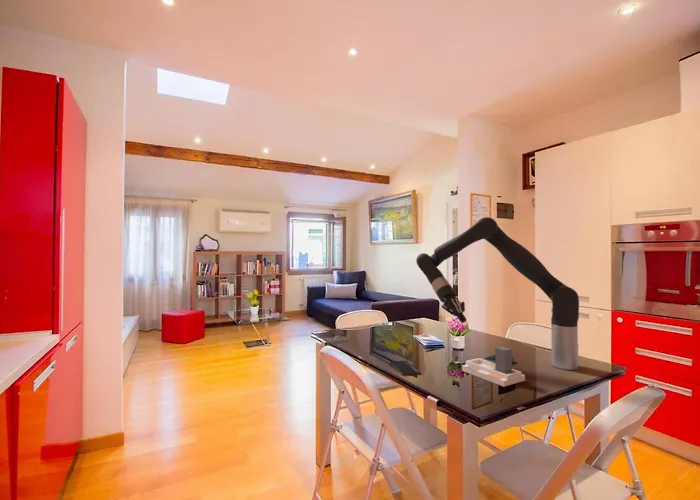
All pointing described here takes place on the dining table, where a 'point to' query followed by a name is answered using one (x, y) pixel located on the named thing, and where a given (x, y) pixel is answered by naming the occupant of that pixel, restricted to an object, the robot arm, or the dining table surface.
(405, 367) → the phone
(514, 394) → the dining table surface
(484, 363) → the switch housing
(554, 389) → the dining table surface
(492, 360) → the digital multimeter
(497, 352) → the slider tab
